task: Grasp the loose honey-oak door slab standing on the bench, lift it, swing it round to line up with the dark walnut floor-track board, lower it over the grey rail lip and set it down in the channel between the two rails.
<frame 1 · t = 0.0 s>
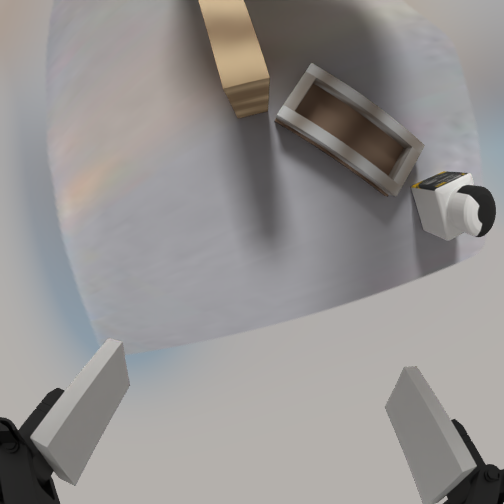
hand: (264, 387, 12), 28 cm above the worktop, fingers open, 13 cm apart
door slab: (241, 75, 33), on the worktop
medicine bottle: (433, 200, 36), on the worktop
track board: (349, 131, 34), on the worktop
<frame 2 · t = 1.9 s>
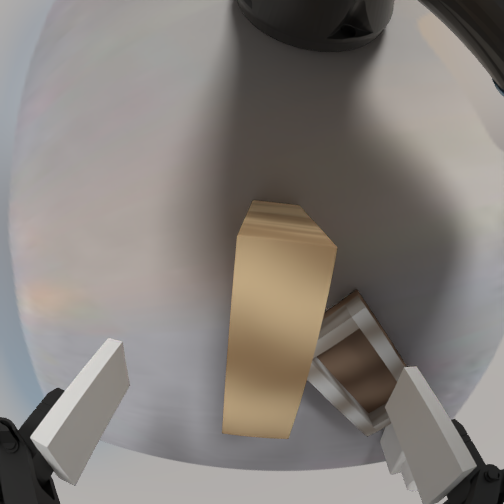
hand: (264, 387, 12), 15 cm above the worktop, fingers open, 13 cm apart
door slab: (268, 268, 26), on the worktop
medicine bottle: (404, 422, 32), on the worktop
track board: (360, 367, 29), on the worktop
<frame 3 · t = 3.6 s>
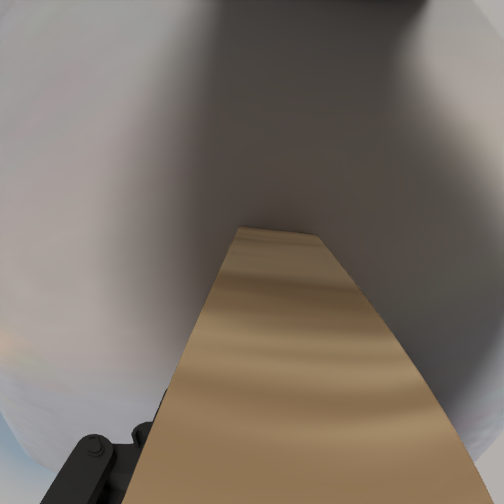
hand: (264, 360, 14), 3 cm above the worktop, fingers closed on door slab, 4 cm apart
door slab: (264, 332, 16), on the worktop, touching gripper
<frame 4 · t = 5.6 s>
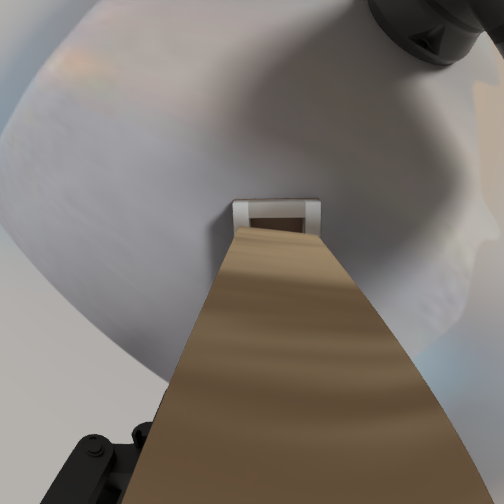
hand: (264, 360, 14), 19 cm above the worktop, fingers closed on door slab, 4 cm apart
door slab: (264, 332, 16), point 17 cm above the worktop, touching gripper
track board: (276, 277, 33), on the worktop
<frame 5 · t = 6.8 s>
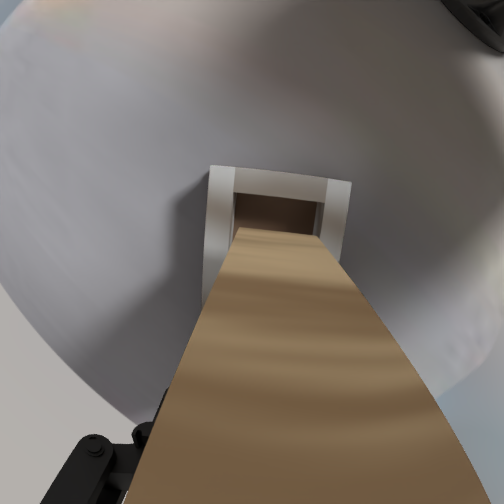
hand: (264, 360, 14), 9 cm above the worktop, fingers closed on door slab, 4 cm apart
door slab: (264, 333, 16), point 6 cm above the worktop, touching gripper
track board: (265, 291, 22), on the worktop
when the fingers open (5 cm above the worktop, at t = 7.8 s): door slab drops 1 cm, resting on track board.
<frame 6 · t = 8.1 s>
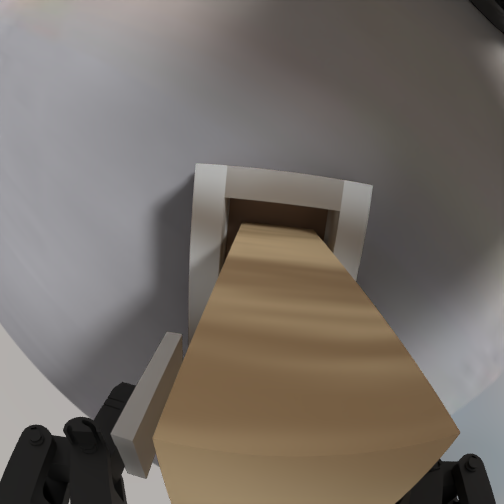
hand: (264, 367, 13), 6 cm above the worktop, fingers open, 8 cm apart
door slab: (265, 320, 18), point 1 cm above the worktop, touching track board
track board: (264, 313, 19), on the worktop
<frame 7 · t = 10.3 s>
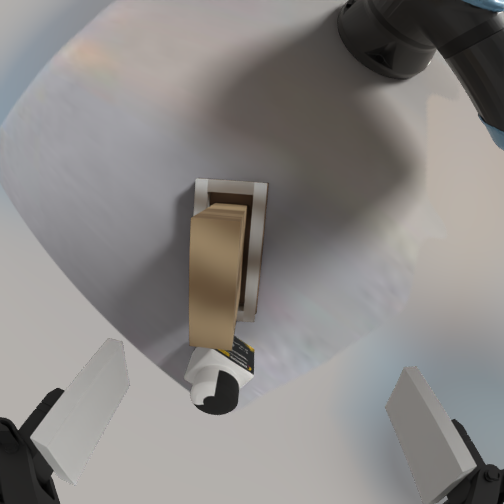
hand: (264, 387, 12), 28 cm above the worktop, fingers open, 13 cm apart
door slab: (228, 249, 38), point 1 cm above the worktop, touching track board
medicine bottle: (223, 349, 43), on the worktop
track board: (228, 247, 39), on the worktop
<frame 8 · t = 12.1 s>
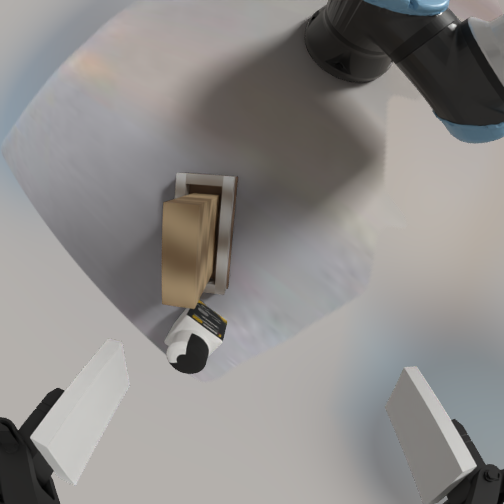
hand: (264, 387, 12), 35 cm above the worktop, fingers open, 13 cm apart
door slab: (203, 232, 44), point 1 cm above the worktop, touching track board
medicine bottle: (200, 321, 50), on the worktop
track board: (204, 230, 45), on the worktop
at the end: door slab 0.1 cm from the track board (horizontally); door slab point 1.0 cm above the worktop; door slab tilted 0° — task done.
